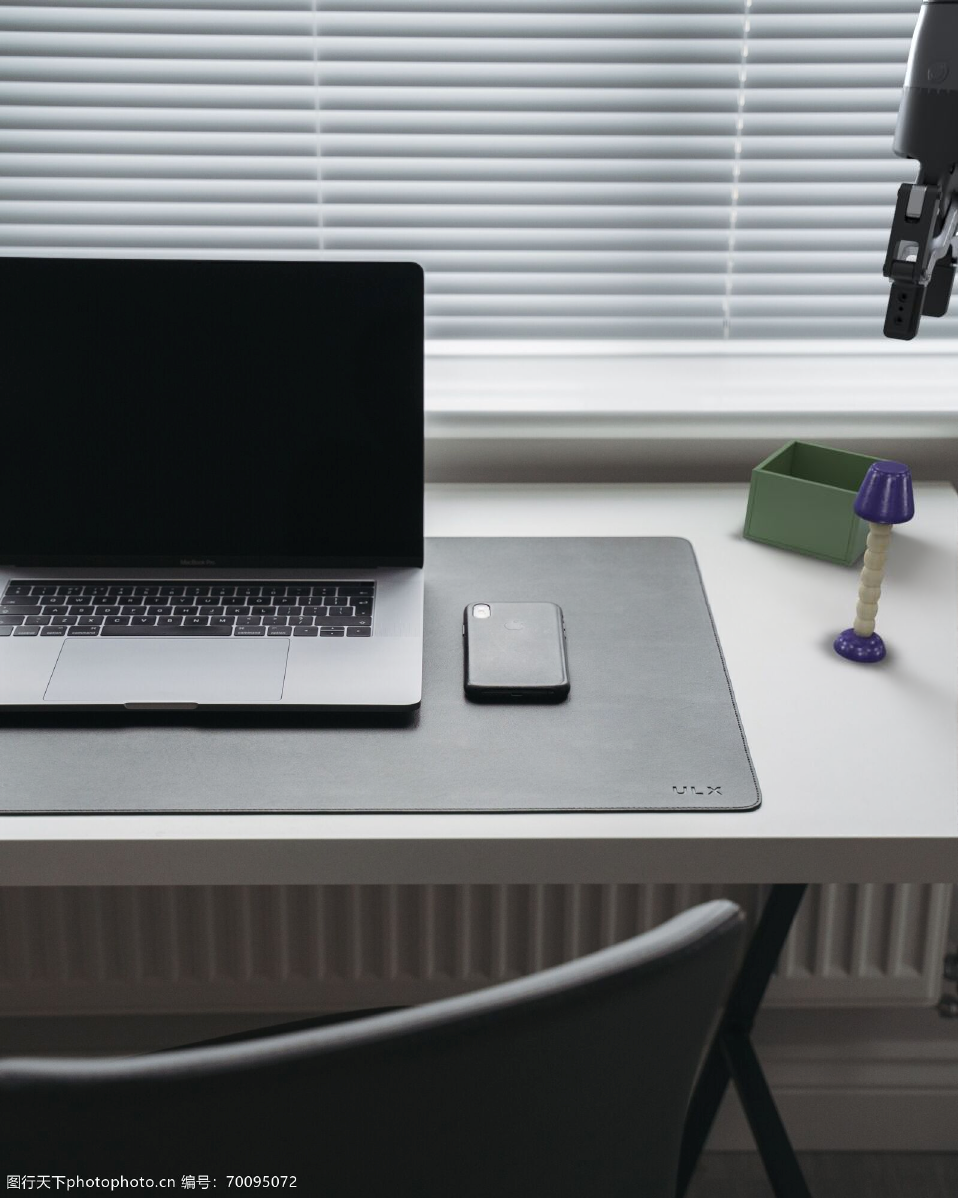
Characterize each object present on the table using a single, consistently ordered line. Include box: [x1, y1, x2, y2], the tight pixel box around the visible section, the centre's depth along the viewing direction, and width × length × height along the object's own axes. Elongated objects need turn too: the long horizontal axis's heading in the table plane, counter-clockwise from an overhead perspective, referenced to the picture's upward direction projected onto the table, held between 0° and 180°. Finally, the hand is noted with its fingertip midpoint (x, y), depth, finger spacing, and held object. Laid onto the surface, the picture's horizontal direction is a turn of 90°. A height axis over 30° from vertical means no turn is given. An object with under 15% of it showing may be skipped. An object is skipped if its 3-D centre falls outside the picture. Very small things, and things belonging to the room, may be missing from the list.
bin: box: [742, 438, 897, 567], centre depth 113 cm, size 11×11×8 cm
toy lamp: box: [833, 460, 916, 664], centre depth 90 cm, size 5×5×17 cm
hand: (915, 326), depth 81 cm, fingers open, 8 cm apart
